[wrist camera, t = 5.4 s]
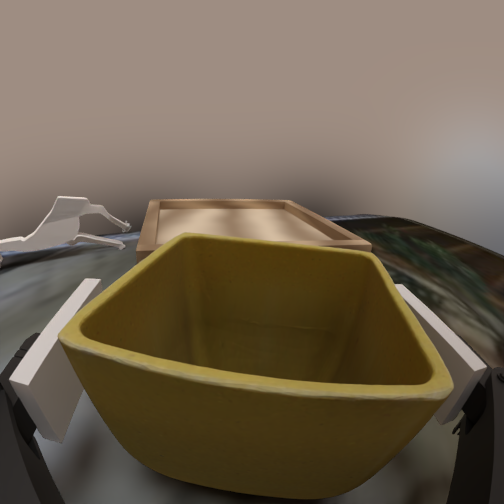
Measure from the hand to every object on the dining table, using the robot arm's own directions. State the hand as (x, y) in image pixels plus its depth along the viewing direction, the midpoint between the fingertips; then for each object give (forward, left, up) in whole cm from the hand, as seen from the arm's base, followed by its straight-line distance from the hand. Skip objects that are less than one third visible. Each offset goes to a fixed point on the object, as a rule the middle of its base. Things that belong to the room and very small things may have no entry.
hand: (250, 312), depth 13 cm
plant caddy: (-4, -17, -6) cm, 18 cm away
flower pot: (0, +3, -6) cm, 7 cm away
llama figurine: (+17, -23, -6) cm, 29 cm away
